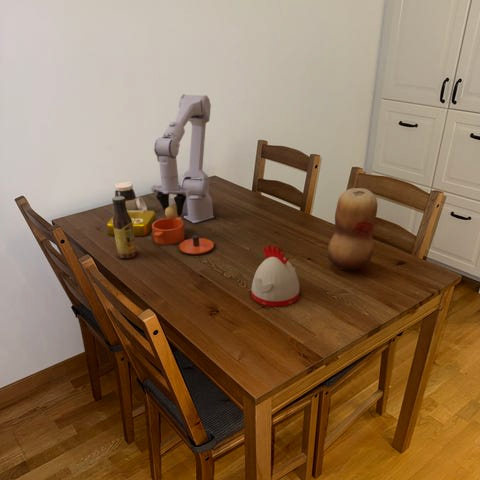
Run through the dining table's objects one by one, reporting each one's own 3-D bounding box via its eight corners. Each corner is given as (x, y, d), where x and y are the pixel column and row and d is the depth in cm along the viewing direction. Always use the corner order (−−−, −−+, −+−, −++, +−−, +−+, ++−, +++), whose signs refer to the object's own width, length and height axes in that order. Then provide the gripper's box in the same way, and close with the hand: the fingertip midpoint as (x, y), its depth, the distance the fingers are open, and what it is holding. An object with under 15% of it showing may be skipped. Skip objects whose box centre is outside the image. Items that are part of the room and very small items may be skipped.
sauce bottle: (132, 260, 158) (123, 202, 146) (115, 258, 159) (104, 201, 147) (140, 251, 163) (131, 195, 152) (123, 250, 164) (113, 194, 153)
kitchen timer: (270, 277, 146) (271, 232, 137) (308, 291, 138) (311, 244, 130) (241, 296, 137) (240, 248, 128) (280, 311, 129) (282, 262, 121)
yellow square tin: (157, 220, 185) (155, 208, 183) (147, 236, 173) (145, 224, 170) (120, 220, 187) (118, 208, 184) (107, 235, 174) (105, 223, 172)
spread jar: (115, 210, 195) (110, 182, 189) (142, 205, 199) (138, 178, 193) (122, 220, 186) (117, 191, 180) (150, 215, 190) (146, 186, 184)
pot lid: (219, 243, 167) (218, 231, 164) (204, 258, 157) (203, 245, 155) (189, 238, 171) (188, 227, 168) (172, 252, 161) (171, 240, 159)
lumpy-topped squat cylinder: (165, 209, 195) (162, 188, 190) (192, 202, 201) (191, 182, 196) (176, 217, 188) (174, 196, 183) (204, 210, 193) (203, 189, 189)
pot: (193, 231, 176) (192, 217, 173) (171, 249, 163) (169, 235, 160) (167, 227, 180) (165, 213, 177) (143, 245, 167) (141, 230, 164)
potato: (173, 213, 171) (171, 201, 169) (184, 215, 170) (183, 202, 167) (163, 220, 166) (161, 207, 163) (174, 222, 164) (173, 209, 162)
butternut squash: (337, 281, 143) (346, 201, 128) (319, 262, 153) (325, 186, 139) (379, 274, 145) (391, 195, 131) (358, 256, 156) (368, 181, 142)
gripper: (144, 176, 159) (149, 215, 166) (182, 181, 154) (186, 220, 161) (155, 170, 164) (160, 208, 172) (192, 174, 159) (195, 213, 167)
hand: (173, 213), depth 167 cm, fingers closed on potato, 4 cm apart
